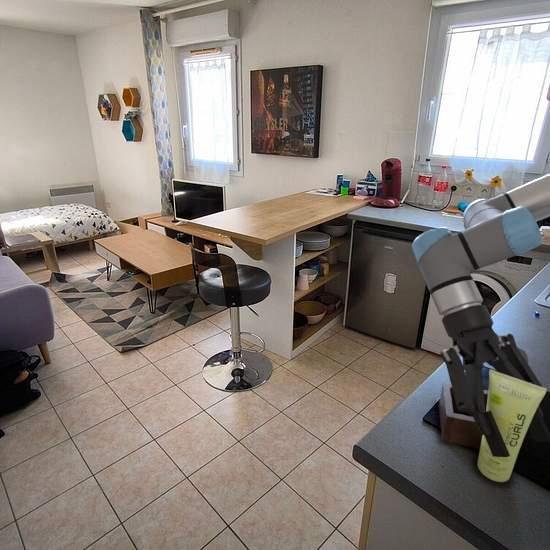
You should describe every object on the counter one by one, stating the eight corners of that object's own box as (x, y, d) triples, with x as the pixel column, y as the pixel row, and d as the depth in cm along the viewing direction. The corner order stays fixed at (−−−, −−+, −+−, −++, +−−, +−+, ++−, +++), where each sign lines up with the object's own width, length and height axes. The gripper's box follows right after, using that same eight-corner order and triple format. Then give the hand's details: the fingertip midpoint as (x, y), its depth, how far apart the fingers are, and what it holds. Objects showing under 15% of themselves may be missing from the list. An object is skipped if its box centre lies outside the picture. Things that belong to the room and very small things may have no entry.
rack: (490, 415, 74) (496, 392, 72) (501, 454, 66) (508, 428, 63) (438, 405, 77) (442, 382, 75) (442, 440, 69) (447, 416, 66)
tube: (482, 483, 60) (508, 389, 53) (467, 457, 65) (489, 368, 57) (516, 483, 60) (547, 389, 53) (499, 457, 65) (525, 367, 57)
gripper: (492, 307, 70) (551, 431, 62) (401, 327, 65) (453, 465, 57) (523, 294, 64) (594, 430, 56) (424, 314, 58) (487, 469, 50)
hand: (523, 448), depth 56 cm, fingers open, 8 cm apart
